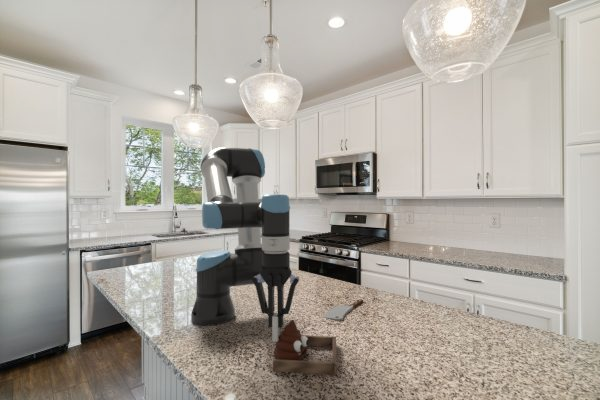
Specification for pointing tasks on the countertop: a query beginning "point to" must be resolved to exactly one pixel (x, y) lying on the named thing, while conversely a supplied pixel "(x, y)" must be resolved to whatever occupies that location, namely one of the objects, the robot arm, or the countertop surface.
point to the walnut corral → (310, 366)
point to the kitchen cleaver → (341, 311)
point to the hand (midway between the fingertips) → (276, 339)
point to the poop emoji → (291, 344)
